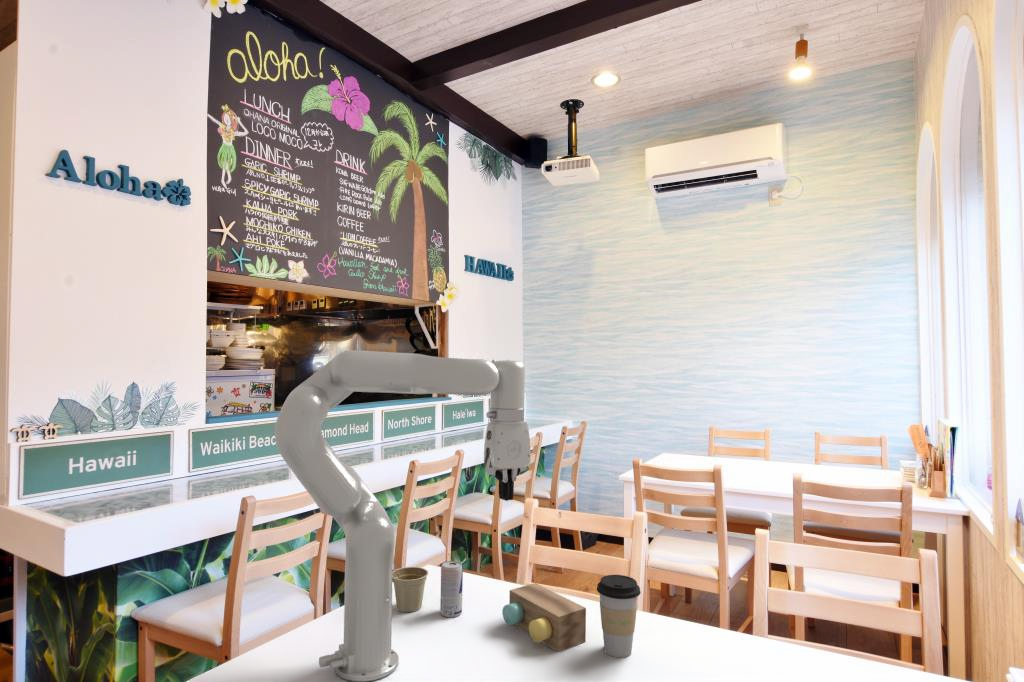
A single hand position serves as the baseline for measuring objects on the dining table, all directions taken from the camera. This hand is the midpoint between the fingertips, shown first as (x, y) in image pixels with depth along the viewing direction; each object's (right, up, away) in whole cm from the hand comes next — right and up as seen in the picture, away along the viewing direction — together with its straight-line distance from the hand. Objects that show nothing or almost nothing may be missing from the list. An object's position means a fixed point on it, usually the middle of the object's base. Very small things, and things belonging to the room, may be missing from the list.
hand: (506, 498), depth 133 cm
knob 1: (+5, -31, +9) cm, 33 cm away
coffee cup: (+24, -33, -2) cm, 41 cm away
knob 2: (+11, -31, +1) cm, 33 cm away
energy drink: (-14, -33, +15) cm, 39 cm away
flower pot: (-25, -33, +18) cm, 45 cm away
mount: (+9, -32, +6) cm, 34 cm away
